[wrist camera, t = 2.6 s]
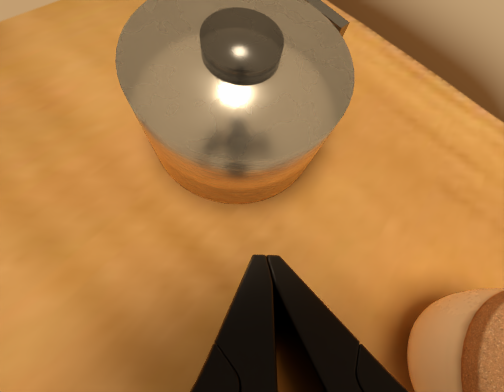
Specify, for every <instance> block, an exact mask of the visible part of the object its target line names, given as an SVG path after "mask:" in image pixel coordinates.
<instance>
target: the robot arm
mask: <svg viewBox="0 0 504 392" xmlns="http://www.w3.org/2000/svg"><path fill="white" fill-rule="evenodd" d="M190 392H408V391H407V390H406V389H405V388H404V387H403V386H402V385H401V384H400V383H399V382H398V381H397V380H396V379H395V378H394V377H393V376H392V375H391V374H390V373H389V372H388V371H387V370H386V369H385V368H384V367H383V366H382V365H381V364H380V363H379V362H378V361H377V360H376V359H375V358H374V357H373V355H372V354H371V353H370V352H369V351H368V350H367V349H366V348H365V347H364V346H363V345H362V344H360V345H359V341H358V340H357V338H356V337H355V336H354V335H353V334H352V333H351V332H350V331H349V330H348V329H347V328H346V327H345V326H344V325H343V323H342V322H341V321H340V320H339V319H338V318H337V317H336V316H335V315H334V314H333V313H332V312H331V311H330V310H329V308H328V307H327V306H326V305H325V304H324V303H323V302H322V301H321V300H320V299H319V298H318V297H317V296H316V295H315V293H314V292H313V291H312V290H311V289H310V288H309V287H308V286H307V285H306V284H305V283H304V282H303V281H302V280H301V278H300V277H299V276H298V275H297V274H296V273H295V272H294V271H293V270H292V269H291V268H290V267H289V266H288V265H287V263H286V262H285V261H284V260H283V259H282V258H281V257H280V256H278V255H267V256H265V255H253V256H252V258H251V260H250V262H249V264H248V267H247V269H246V271H245V274H244V276H243V278H242V280H241V283H240V285H239V287H238V289H237V292H236V294H235V296H234V298H233V301H232V303H231V305H230V308H229V310H228V312H227V314H226V317H225V319H224V321H223V323H222V326H221V328H220V330H219V332H218V335H217V337H216V339H215V342H214V344H213V346H212V348H211V350H210V352H209V355H208V357H207V359H206V361H205V363H204V365H203V367H202V369H201V372H200V374H199V376H198V378H197V380H196V382H195V384H194V386H193V387H192V389H191V391H190Z"/></svg>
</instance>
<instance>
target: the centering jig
mask: <svg viewBox="0 0 504 392" xmlns="http://www.w3.org/2000/svg"><path fill="white" fill-rule="evenodd" d="M305 1H306V2H308V3H310V4H311V5H312V6H314V7H315V8H316V9H318V10H319V11H320V12H321V13H322V14H323V15H324V16H325V17H327V18H328V19H329V20H330V22H331V23H332V24H333V25H334V26H335V27H336V29H337V30H338V31H339V33H340V34H341V36H342V37H343V35H344V33H345V31H346V29H347V27H348V24H349V22H348V21H347V20H345V19H344V18H343V17H342V16H340V15H339V14H338V13H336V12H335V11H334V10H333V9H331V8H330V7H329V6H327V5H326V4H325V3H323V2H322V1H321V0H305Z"/></svg>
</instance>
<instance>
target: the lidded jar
mask: <svg viewBox="0 0 504 392" xmlns="http://www.w3.org/2000/svg"><path fill="white" fill-rule="evenodd" d="M407 363H408V370H409V375H410V379H411V383H412V386H413V389H414V392H504V288H494V289H476V290H468V291H464V292H459V293H455V294H451V295H448V296H445V297H443V298H441V299H439V300H437V301H435V302H433V303H432V304H431V305H429V306H428V307H427V308H426V309H425V310H424V311H423V312H422V313H421V314H420V315H419V316H418V318H417V320H416V321H415V323H414V324H413V327H412V329H411V332H410V335H409V340H408V346H407Z"/></svg>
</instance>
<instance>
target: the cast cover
mask: <svg viewBox="0 0 504 392" xmlns="http://www.w3.org/2000/svg"><path fill="white" fill-rule="evenodd" d="M116 69H117V75H118V79H119V82H120V85H121V88H122V90H123V92H124V94H125V96H126V98H127V100H128V102H129V104H130V106H131V107H132V109H133V111H134V113H135V115H136V117H137V119H138V121H139V122H140V124H141V126H142V128H143V130H144V132H145V134H146V136H147V137H148V139H149V141H150V143H151V145H152V147H153V149H154V151H155V152H156V154H157V156H158V158H159V160H160V162H161V164H162V165H163V167H164V168H165V170H166V171H167V172H168V174H169V175H170V176H171V177H172V178H173V179H174V180H175V181H176V182H177V183H179V184H180V185H181V186H182V187H184V188H185V189H187V190H189V191H190V192H192V193H194V194H196V195H198V196H200V197H203V198H205V199H208V200H212V201H215V202H221V203H227V204H245V203H253V202H257V201H262V200H265V199H267V198H270V197H273V196H275V195H277V194H279V193H280V192H282V191H284V190H285V189H286V188H288V187H289V186H290V185H292V184H293V183H294V182H295V181H296V180H297V179H298V177H299V176H300V175H301V174H302V172H303V171H304V170H305V168H306V167H307V165H308V164H309V163H310V161H311V160H312V158H313V157H314V156H315V154H316V153H317V151H318V150H319V149H320V147H321V146H322V144H323V143H324V142H325V140H326V139H327V137H328V136H329V135H330V133H331V132H332V130H333V129H334V128H335V126H336V125H337V123H338V122H339V121H340V119H341V118H342V116H343V115H344V113H345V111H346V109H347V107H348V106H349V103H350V100H351V97H352V94H353V88H354V67H353V62H352V58H351V55H350V52H349V49H348V47H347V45H346V43H345V41H344V39H343V37H342V36H341V34H340V33H339V31H338V30H337V29H336V27H335V26H334V25H333V24H332V23H331V22H330V20H329V19H328V18H327V17H325V16H324V15H323V14H322V13H321V12H320V11H319V10H318V9H316V8H315V7H314V6H312V5H311V4H310V3H308V2H306V1H305V0H147V1H146V2H145V3H143V4H142V5H141V6H140V7H139V8H138V9H137V10H136V11H135V12H134V13H133V14H132V15H131V17H130V18H129V20H128V21H127V23H126V24H125V26H124V28H123V30H122V32H121V34H120V37H119V40H118V44H117V48H116Z"/></svg>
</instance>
